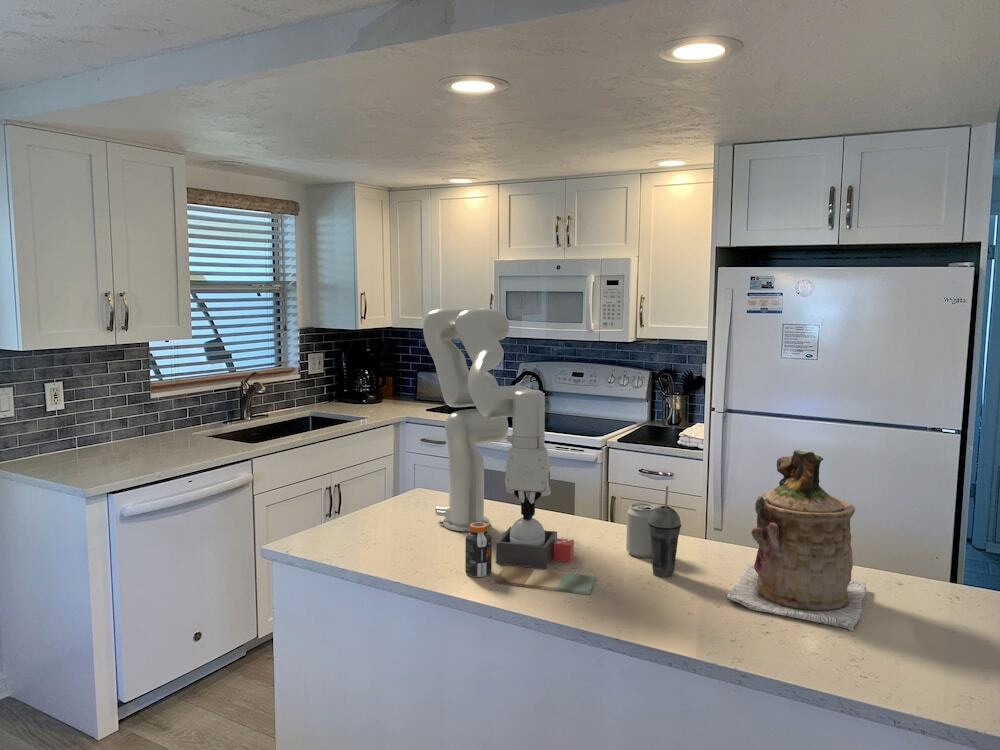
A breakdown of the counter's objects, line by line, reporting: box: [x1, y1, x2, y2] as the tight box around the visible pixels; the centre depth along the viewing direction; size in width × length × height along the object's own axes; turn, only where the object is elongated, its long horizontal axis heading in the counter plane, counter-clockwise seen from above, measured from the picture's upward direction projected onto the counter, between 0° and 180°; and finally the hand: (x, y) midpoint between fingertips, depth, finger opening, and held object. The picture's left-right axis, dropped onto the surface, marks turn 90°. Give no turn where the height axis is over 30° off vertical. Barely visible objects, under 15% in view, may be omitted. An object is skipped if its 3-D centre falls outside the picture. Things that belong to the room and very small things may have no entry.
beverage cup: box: [648, 485, 682, 579], centre depth 165 cm, size 7×7×20 cm
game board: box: [493, 565, 597, 595], centre depth 162 cm, size 21×9×1 cm, turn 73°
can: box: [625, 502, 657, 559], centre depth 179 cm, size 8×8×12 cm
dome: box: [510, 517, 545, 546], centre depth 176 cm, size 8×8×8 cm
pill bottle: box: [464, 522, 493, 578], centre depth 166 cm, size 6×6×11 cm
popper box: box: [495, 526, 575, 570], centre depth 175 cm, size 16×12×5 cm
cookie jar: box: [727, 449, 867, 632], centre depth 152 cm, size 25×25×32 cm
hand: (528, 517), depth 175 cm, fingers closed
